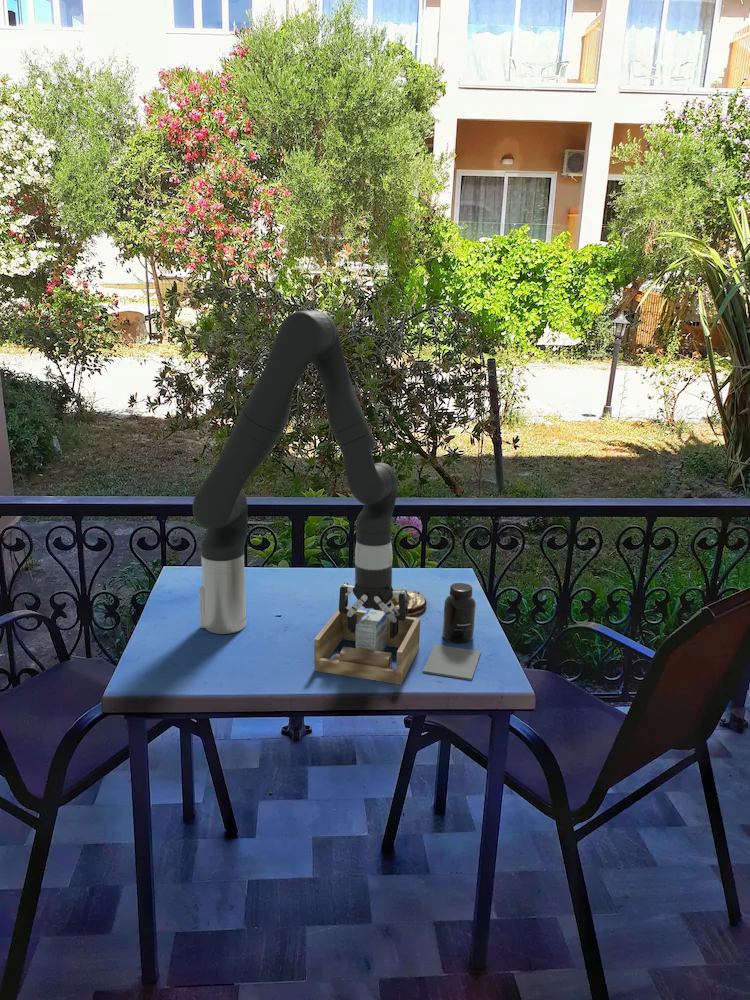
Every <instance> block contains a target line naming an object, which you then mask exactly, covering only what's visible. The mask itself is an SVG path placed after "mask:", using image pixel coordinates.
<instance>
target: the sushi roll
mask: <svg viewBox="0 0 750 1000" xmlns="http://www.w3.org/2000/svg"><path fill="white" fill-rule="evenodd" d="M403 589H404V588H403ZM403 589H402V588H393V590H394V591H402V590H403ZM407 599H408V616H407V617H413V616H418V615H421V614H422V612H423V611H425V609H426V608H427V605H428V603H427V599H426V598H425V596H424V594H423V593H420V591H417V590H414V591H413V590H411V589H410V591H409V590H407ZM390 600H391V601H392V603H393V604H394V607H395V609H396V610H397V612H398V613H399V602H397V601H396V598H395V597H392V598H391V599H390ZM379 611H383V610H382V609H380V610H379Z"/></svg>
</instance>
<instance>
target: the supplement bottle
mask: <svg viewBox="0 0 750 1000" xmlns="http://www.w3.org/2000/svg"><path fill="white" fill-rule="evenodd" d="M476 605H477V603H476V601H475V599H474V598H473V586H472V585H471V584H469V583H464V582H456V583H455V582H454V583H452V584H451V585H450V586H449V595H447V597H446V598H445V600H444V607H443V622H442V637H443V638H444V639H446V641H448V642H451V643H456V644H464V643H469V642H470V641H471V640H473V638H474V631H475V620H476V619H475V618H476V609H477V608H476Z"/></svg>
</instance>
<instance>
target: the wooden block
mask: <svg viewBox="0 0 750 1000" xmlns="http://www.w3.org/2000/svg"><path fill="white" fill-rule="evenodd" d="M331 660H337V661H344V662H350V663H356V664H363V665H369V666H375V667H381V668H388V669H393V662H392V652H389V651H384V652H381V651H373V650H365V649H357V648H356V647H347V646H343V647H342V649H341V650H340V652H339V653H335V654H334V655H333V657H332V658H331Z"/></svg>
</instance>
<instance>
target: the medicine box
mask: <svg viewBox="0 0 750 1000" xmlns="http://www.w3.org/2000/svg"><path fill="white" fill-rule="evenodd" d="M366 611H367V612H366V613H365V614H364V616H363V617H362V618H361V619H360V620H359V622H358V623H357V624H356V641H355V648H357V649H365V650H373V651H381V652H385V650H386V649H387V646H386V637H387V615H386V614H385V613H384V612H383V611H380V610H375V609H367V610H366Z"/></svg>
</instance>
